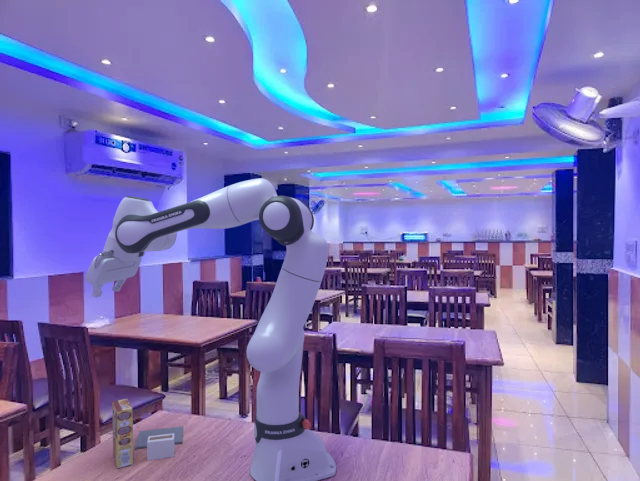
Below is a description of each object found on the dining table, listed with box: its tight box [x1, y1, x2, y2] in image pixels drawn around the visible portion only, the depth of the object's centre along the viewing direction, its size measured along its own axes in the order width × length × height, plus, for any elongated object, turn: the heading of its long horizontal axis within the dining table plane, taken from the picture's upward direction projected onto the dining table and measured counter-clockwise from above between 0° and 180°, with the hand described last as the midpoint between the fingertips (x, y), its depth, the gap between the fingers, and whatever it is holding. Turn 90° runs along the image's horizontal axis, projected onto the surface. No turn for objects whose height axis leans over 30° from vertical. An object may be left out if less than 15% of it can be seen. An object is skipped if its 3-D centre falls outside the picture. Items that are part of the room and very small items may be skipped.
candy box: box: [112, 398, 134, 469], centre depth 118 cm, size 9×4×15 cm, turn 33°
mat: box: [134, 425, 184, 450], centre depth 131 cm, size 13×11×1 cm
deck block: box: [146, 433, 176, 461], centre depth 120 cm, size 7×4×5 cm, turn 106°
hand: (106, 293), depth 124 cm, fingers open, 8 cm apart
